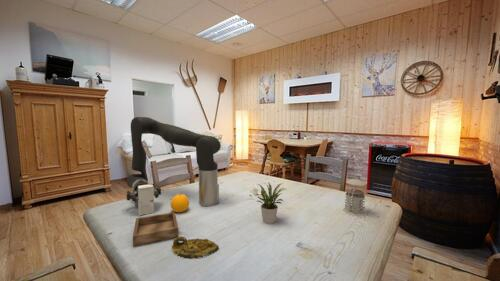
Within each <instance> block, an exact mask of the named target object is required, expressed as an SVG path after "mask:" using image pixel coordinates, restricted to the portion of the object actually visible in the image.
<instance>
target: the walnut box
mask: <svg viewBox="0 0 500 281" xmlns="http://www.w3.org/2000/svg"><path fill="white" fill-rule="evenodd" d="M177 221H178V220H177V216H176V213H175V211H173V212H166V213H165V212H164V213H160V214H153V215H148V216H141V217H136V218H135V222H134V223H135V224H134V228H133V233H132V248H135V247H139V246H144V245H149V244H154V243H160V242H162V241H168V240H174V239H175V238H176V237H179V225H178V222H177Z"/></svg>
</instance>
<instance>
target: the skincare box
mask: <svg viewBox="0 0 500 281" xmlns="http://www.w3.org/2000/svg"><path fill="white" fill-rule="evenodd" d="M148 184H149V185H141V186H138V199H137V206H138V208H137V211H138V212H137V213H138V215H139V216H143V215H147V214H154V212H155V202H154V201H155V196H154V189H155V188H154V185H153V183H151V184H150V183H148Z"/></svg>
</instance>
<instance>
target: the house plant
mask: <svg viewBox="0 0 500 281" xmlns="http://www.w3.org/2000/svg"><path fill="white" fill-rule="evenodd" d="M264 184H265V185H266V186H267V190H268V193H267V191H266V189H265V188H264V187H263V186H262V185H261V184H259V183H258V186H259V187H260V192H261V195H262V196H260V197H257V196H258V195H255V196H256V197H255V198H258V199H260V200H256V202H257V203H261V205H260V210H261V217H262V222H263V223H265V224H268V225H269V224H274V223H275V222H276V219H277V214H278V210H279V209H278V207H279V205H278V204H281V205H283V204H282V202H284V200H283V199H282V198H279V199H278V197H279V196H280V195H282V193H283V191H284V190H286V188H284V187H281V188H280V189H279V187H280V186H281V185H282V184H284V183H283V182H282V183H279V184H277V186H276V187H275V188H274V189H273V188H272V184H271V182H269V181H268V182H267V183H266V182H264ZM256 190H257V189H256ZM272 190H273V191H272ZM281 192H282V193H281ZM281 201H282V202H281Z"/></svg>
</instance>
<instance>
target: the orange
mask: <svg viewBox="0 0 500 281" xmlns="http://www.w3.org/2000/svg"><path fill="white" fill-rule="evenodd" d="M189 205H190V200H189V198H188V196H186V195H185V194H181V193H180V194H176V195H174V196H173V198H172V199H171V201H170V208H171V210H172V211H173V212H176V213H181V212H185V211H187V210H188V208H189Z"/></svg>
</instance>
